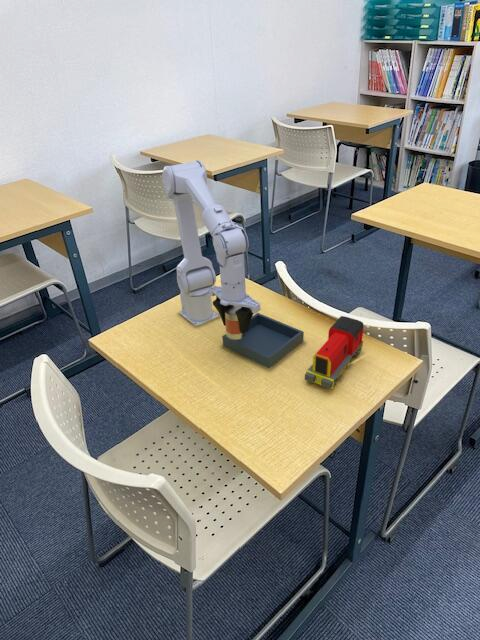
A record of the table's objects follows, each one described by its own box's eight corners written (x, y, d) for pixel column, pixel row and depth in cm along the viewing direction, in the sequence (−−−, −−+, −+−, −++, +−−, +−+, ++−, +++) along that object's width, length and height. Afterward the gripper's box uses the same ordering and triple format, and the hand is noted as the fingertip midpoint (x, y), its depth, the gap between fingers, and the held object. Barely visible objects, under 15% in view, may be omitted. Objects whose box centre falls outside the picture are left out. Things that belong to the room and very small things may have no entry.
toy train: (362, 352, 123) (366, 319, 118) (330, 396, 110) (332, 361, 105) (337, 344, 127) (340, 312, 121) (303, 386, 113) (304, 351, 108)
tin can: (222, 333, 121) (220, 309, 117) (238, 326, 123) (236, 302, 120) (234, 342, 118) (232, 317, 114) (250, 334, 120) (249, 310, 116)
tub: (223, 347, 128) (222, 336, 126) (258, 323, 137) (257, 312, 135) (269, 370, 119) (269, 358, 117) (303, 342, 128) (303, 331, 126)
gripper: (198, 277, 114) (203, 325, 121) (245, 295, 106) (247, 345, 113) (218, 266, 118) (222, 313, 126) (265, 282, 110) (266, 332, 117)
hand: (235, 327), depth 120 cm, fingers closed on tin can, 5 cm apart
